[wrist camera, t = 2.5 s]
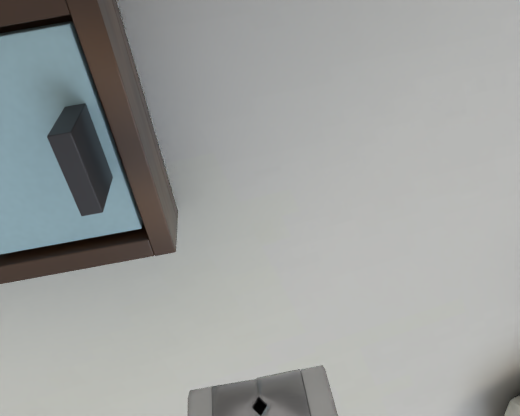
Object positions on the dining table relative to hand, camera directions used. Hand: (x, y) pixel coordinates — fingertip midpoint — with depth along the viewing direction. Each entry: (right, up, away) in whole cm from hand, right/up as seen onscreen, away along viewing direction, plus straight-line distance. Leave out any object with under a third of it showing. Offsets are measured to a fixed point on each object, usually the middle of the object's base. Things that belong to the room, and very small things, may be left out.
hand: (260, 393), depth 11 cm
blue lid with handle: (-12, +7, +13) cm, 19 cm away
